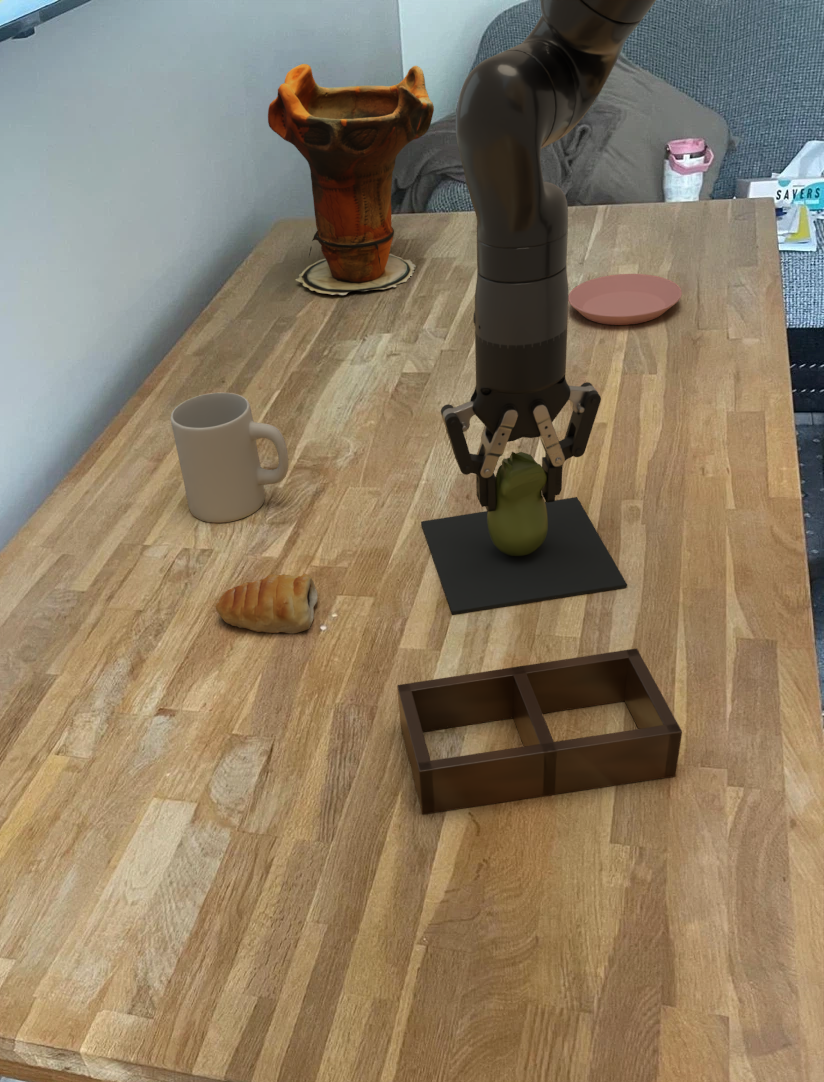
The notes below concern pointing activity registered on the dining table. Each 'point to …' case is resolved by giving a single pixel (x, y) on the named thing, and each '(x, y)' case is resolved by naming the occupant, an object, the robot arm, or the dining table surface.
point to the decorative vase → (352, 171)
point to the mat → (520, 561)
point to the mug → (224, 456)
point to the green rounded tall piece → (519, 506)
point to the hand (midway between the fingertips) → (518, 501)
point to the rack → (538, 731)
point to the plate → (624, 298)
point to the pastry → (271, 604)
